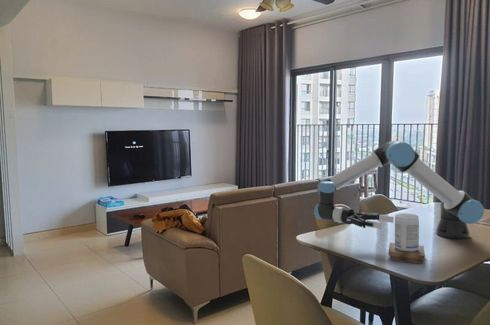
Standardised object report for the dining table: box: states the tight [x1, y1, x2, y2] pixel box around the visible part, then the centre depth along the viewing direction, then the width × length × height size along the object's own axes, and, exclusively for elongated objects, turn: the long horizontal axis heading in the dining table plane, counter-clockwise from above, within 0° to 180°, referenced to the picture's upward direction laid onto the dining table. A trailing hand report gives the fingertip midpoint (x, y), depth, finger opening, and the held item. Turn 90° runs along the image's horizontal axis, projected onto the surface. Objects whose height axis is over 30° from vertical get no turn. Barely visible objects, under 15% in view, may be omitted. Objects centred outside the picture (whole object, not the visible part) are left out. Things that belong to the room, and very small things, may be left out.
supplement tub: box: [394, 213, 420, 252], centre depth 160 cm, size 10×10×15 cm
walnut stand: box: [387, 242, 426, 265], centre depth 161 cm, size 14×14×4 cm
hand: (387, 222), depth 165 cm, fingers open, 13 cm apart
